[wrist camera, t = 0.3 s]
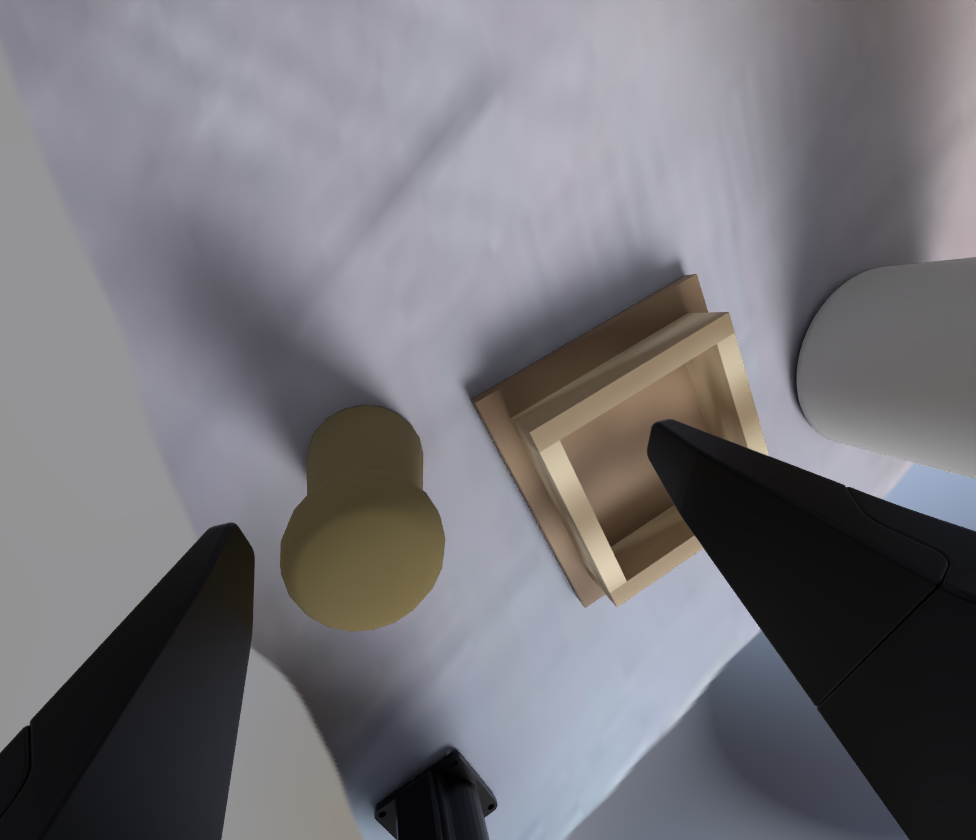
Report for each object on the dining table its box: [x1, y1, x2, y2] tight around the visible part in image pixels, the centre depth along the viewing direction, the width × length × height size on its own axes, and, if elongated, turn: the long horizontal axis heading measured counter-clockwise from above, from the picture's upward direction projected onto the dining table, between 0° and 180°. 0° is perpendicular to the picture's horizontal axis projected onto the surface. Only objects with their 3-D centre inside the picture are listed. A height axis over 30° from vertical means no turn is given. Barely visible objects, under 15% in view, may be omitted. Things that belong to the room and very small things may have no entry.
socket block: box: [471, 274, 769, 608], centre depth 25 cm, size 16×15×4 cm
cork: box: [280, 405, 445, 632], centre depth 17 cm, size 6×6×11 cm
